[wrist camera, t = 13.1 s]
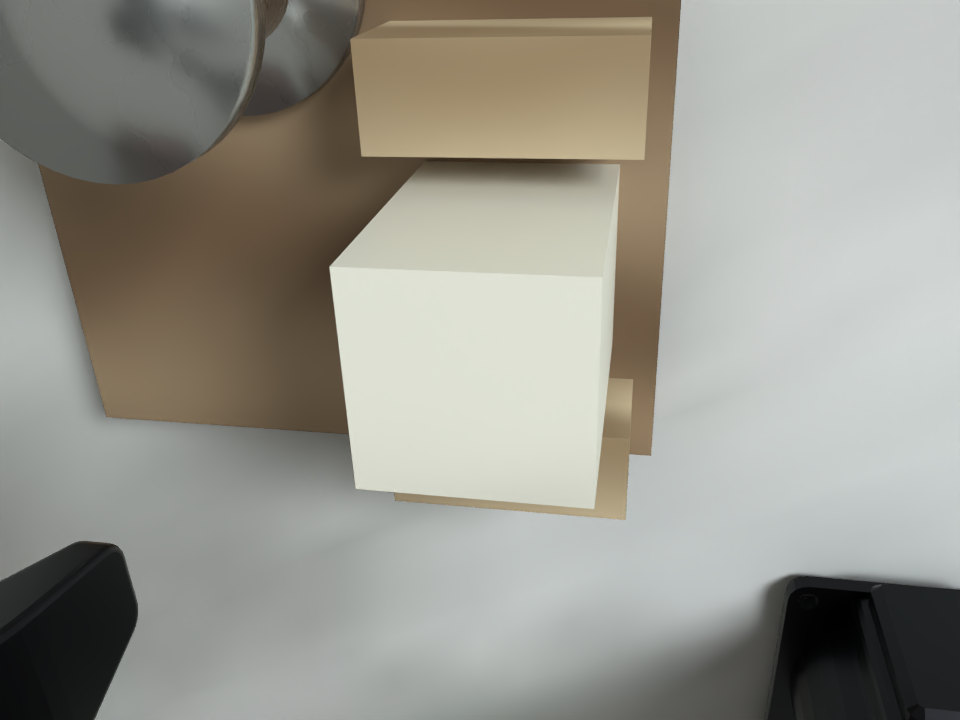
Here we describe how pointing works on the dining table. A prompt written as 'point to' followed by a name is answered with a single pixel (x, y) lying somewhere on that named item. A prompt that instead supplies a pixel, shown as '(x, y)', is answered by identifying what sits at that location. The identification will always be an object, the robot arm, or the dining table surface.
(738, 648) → the dining table surface
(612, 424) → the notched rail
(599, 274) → the white block
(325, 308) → the board
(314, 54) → the bobbin
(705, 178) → the dining table surface
